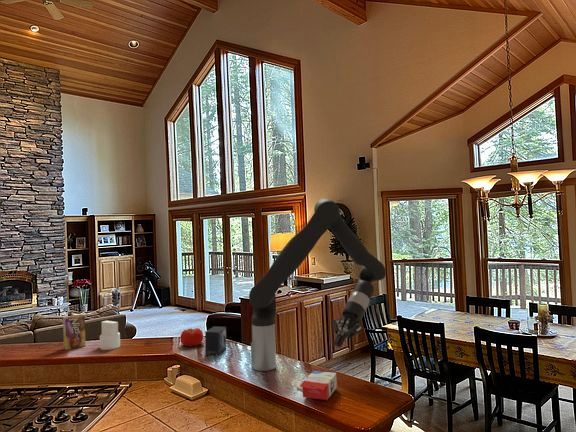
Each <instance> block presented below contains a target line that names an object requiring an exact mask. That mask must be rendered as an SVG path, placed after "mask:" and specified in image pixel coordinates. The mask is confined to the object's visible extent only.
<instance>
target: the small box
mask: <svg viewBox="0 0 576 432" xmlns="http://www.w3.org/2000/svg"><path fill="white" fill-rule="evenodd" d="M204 332H205V333H204V335H205V336H204V337H205V339H204V340H205V342H204V343H205V348H204V351H205V352H204V353H205V355H204V356H217V357H218V356H219V355H221V354H222V353H223V352H225V351H226V350H227V326H216V325H215V326H211V328H208V330H206V331H204Z"/></svg>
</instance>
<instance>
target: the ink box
mask: <svg viewBox="0 0 576 432" xmlns="http://www.w3.org/2000/svg"><path fill="white" fill-rule="evenodd" d="M337 379H338V378H337V373H336V372H330V371H320V370H313V371H312V372H311V373H310V374H309V375H308V376H307V377H306V378H305V379H304V380H303V381H302V382H301V384H300V387H302V389H303V391H302V397H303V398H307V399H308V398H309V399H313V400H314V399H315V400H323V401H328V400H329V398H330V397H331V396H332V395H333V393H334V392H335V390H336V388H337V387H338V381H337Z"/></svg>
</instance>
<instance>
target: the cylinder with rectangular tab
mask: <svg viewBox="0 0 576 432" xmlns="http://www.w3.org/2000/svg"><path fill="white" fill-rule="evenodd" d="M119 347H121V333H120V332H119V322H118V321H112V320H103V321H101V334H100V335H99V349H100V350H103V351H105V350H108V351H109V350H116V349H118V348H119Z"/></svg>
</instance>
